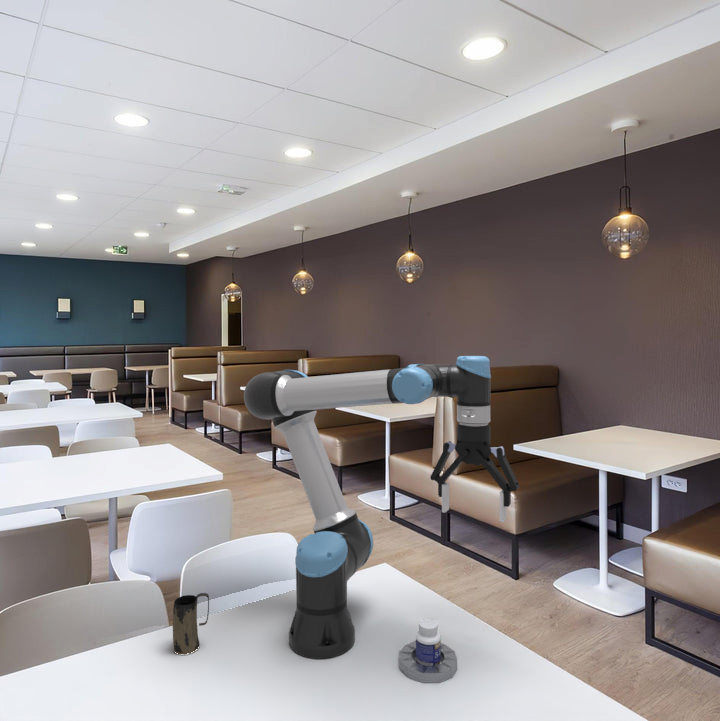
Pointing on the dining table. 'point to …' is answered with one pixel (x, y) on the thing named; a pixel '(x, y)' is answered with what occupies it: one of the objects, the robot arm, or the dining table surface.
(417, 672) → the hub
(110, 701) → the dining table surface
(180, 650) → the mug
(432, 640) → the pill bottle
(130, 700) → the dining table surface
